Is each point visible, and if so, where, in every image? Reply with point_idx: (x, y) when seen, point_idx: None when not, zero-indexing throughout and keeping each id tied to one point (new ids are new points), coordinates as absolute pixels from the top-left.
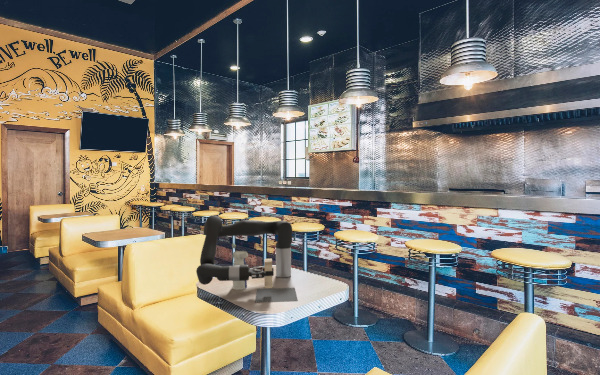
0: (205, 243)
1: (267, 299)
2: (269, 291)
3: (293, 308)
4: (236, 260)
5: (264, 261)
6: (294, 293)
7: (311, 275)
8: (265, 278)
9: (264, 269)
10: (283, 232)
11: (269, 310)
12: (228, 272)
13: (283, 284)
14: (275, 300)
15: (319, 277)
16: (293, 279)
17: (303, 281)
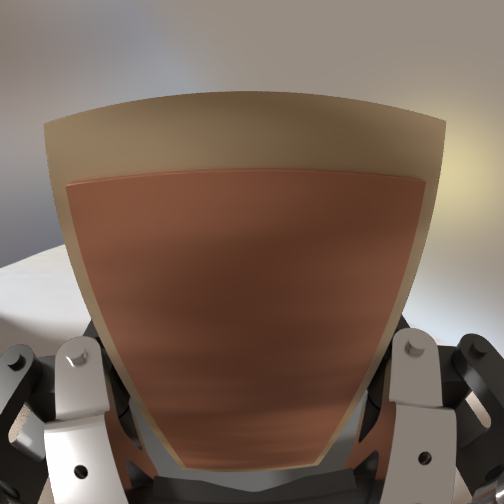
0: None
1: (346, 460)
2: (149, 454)
3: (416, 327)
4: None
5: (121, 178)
6: None
7: (24, 263)
8: (344, 414)
9: (382, 330)
10: None
11: (474, 404)
12: None
13: (40, 354)
14: (358, 409)
15: (55, 250)
16: (14, 308)
17: (57, 286)
